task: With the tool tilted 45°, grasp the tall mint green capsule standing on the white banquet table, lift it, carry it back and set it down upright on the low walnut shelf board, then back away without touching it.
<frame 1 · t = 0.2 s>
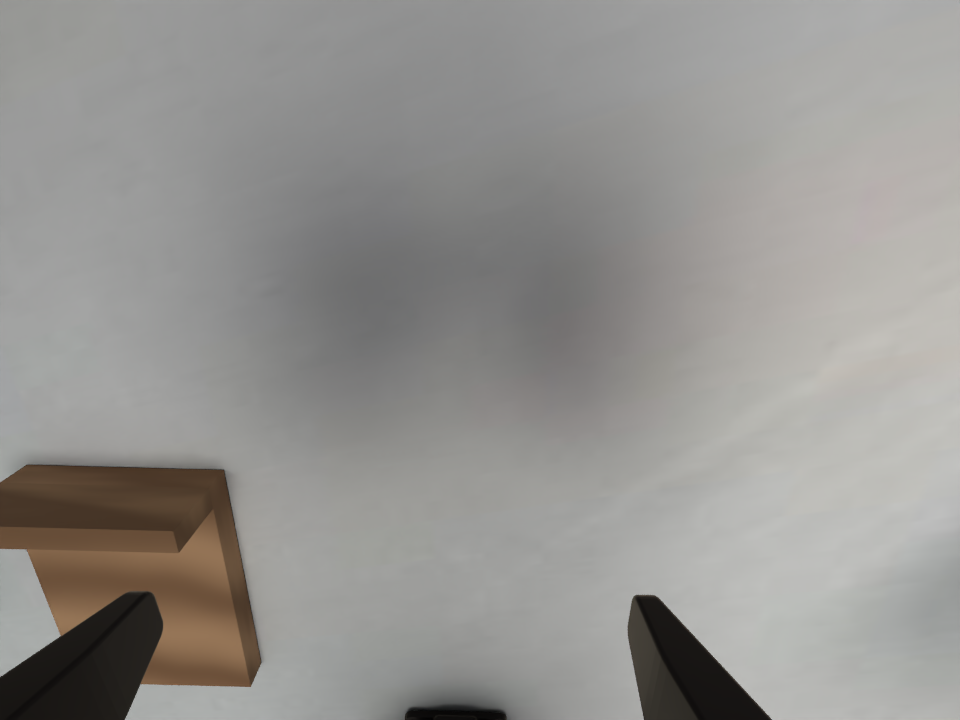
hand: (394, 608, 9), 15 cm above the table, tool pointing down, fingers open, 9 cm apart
shelf board: (154, 573, 28), on the table
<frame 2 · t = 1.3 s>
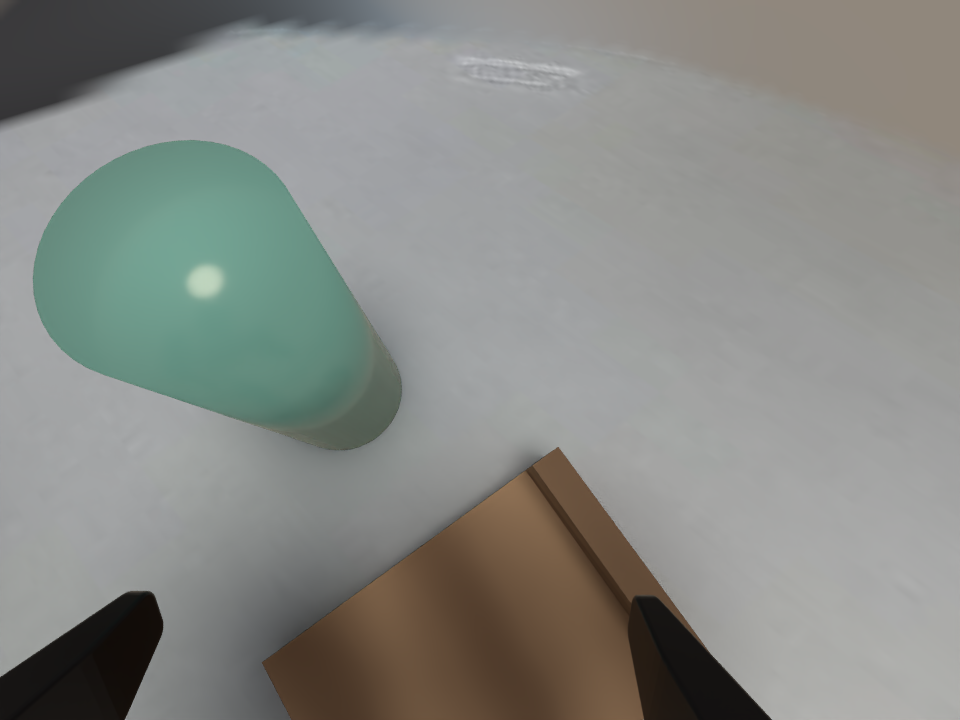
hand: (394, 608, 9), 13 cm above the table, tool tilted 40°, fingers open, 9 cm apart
shelf board: (482, 653, 21), on the table
mint green capsule: (343, 391, 24), on the table
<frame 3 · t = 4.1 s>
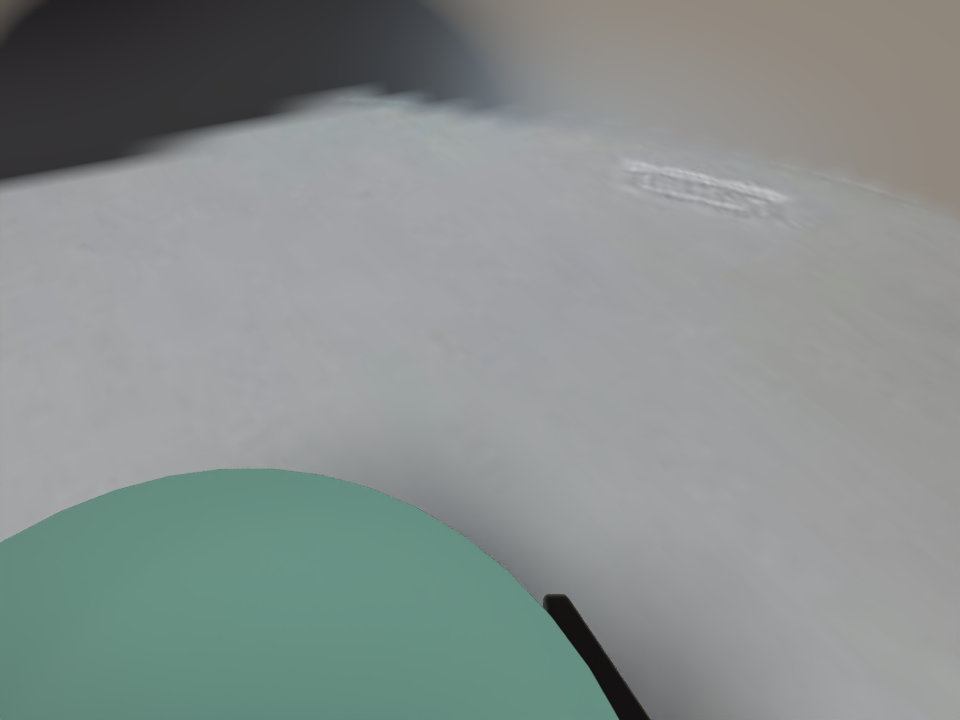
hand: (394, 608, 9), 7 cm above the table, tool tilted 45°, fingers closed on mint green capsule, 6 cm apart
mint green capsule: (427, 639, 16), on the table, touching gripper
when the fingers open (10 cm above the table, at t = 7.0 s): mint green capsule drops 1 cm, resting on shelf board.
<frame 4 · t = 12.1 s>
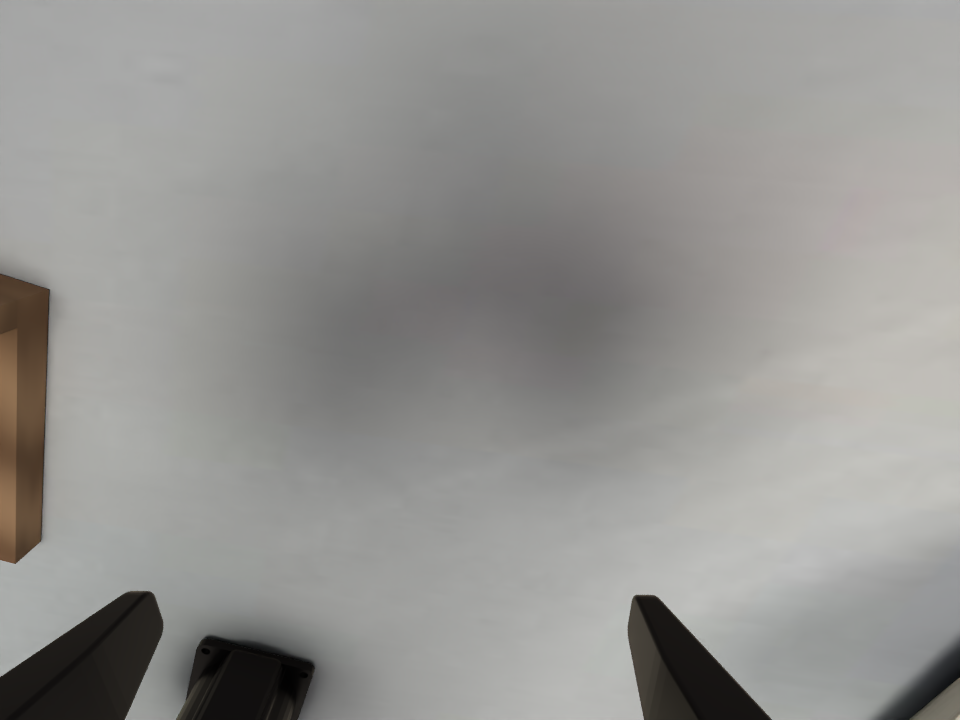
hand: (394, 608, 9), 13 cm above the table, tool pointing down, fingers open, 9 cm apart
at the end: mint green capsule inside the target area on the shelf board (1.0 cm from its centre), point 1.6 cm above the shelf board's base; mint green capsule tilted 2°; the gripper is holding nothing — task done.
